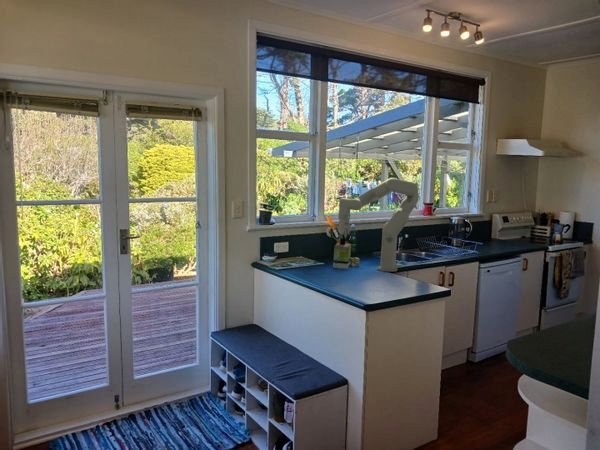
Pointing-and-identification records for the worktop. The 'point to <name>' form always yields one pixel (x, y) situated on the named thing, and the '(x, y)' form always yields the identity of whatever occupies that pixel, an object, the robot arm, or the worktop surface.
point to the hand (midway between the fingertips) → (342, 244)
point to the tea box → (342, 256)
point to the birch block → (354, 261)
